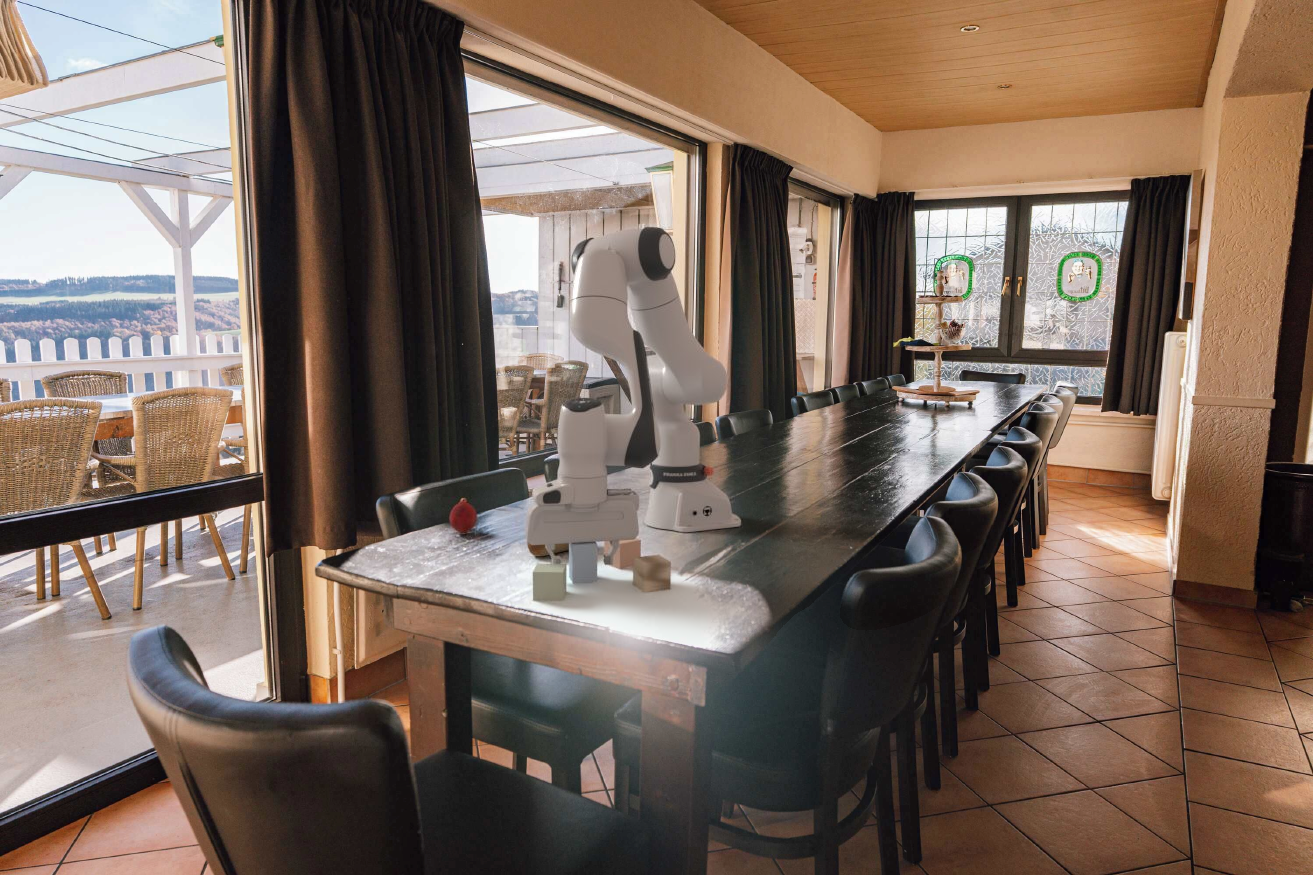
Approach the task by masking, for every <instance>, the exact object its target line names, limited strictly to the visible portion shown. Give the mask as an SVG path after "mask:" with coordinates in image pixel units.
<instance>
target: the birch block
mask: <svg viewBox="0 0 1313 875" xmlns="http://www.w3.org/2000/svg"><path fill="white" fill-rule="evenodd" d="M671 562H672V561H670V560H669V559H667V558H665V557H663V556H662V555H660V554H655V555H654V554H653V555H645V556H641V557H634V558H633V567H632V585H633V586H634V587H635V588H636V589H638V590H640V591H641V592H643V593H644V594H645V593H653V592H654V593H655V592H659V591H661V592H662V591H667V590H668V591H669V590H671V589H672V588H671V585H672V584H671V582H672V579H671V578H672V572H671V571H672V569H671V568H672V563H671Z"/></svg>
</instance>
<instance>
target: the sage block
mask: <svg viewBox="0 0 1313 875" xmlns="http://www.w3.org/2000/svg"><path fill="white" fill-rule="evenodd" d="M566 595H567V563H561V564H552V563H536V565H535V567H534V569H533V571H532V601H534V602H536V601H537V602H538V601H540V602H564V600H565V596H566Z"/></svg>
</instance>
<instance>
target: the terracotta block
mask: <svg viewBox="0 0 1313 875" xmlns="http://www.w3.org/2000/svg"><path fill="white" fill-rule="evenodd" d="M603 542H604V543H603V544H604V546H603V547H604V552H603V554H604V553H608V552H609V550H610V548H611V546H612V545H611V544H610V541H603ZM641 549H642V540H641V539H639V538H637V537H636V538H635V539H634V540H619V548H618V549H617V551H616V553H615V554H614V555H613V565H609V567H613V568H615V569H618V570H623V569H628V568H631V567H632V568H633V558H634V557H642V556H641V555H642V553H641V552H642V550H641Z"/></svg>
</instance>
